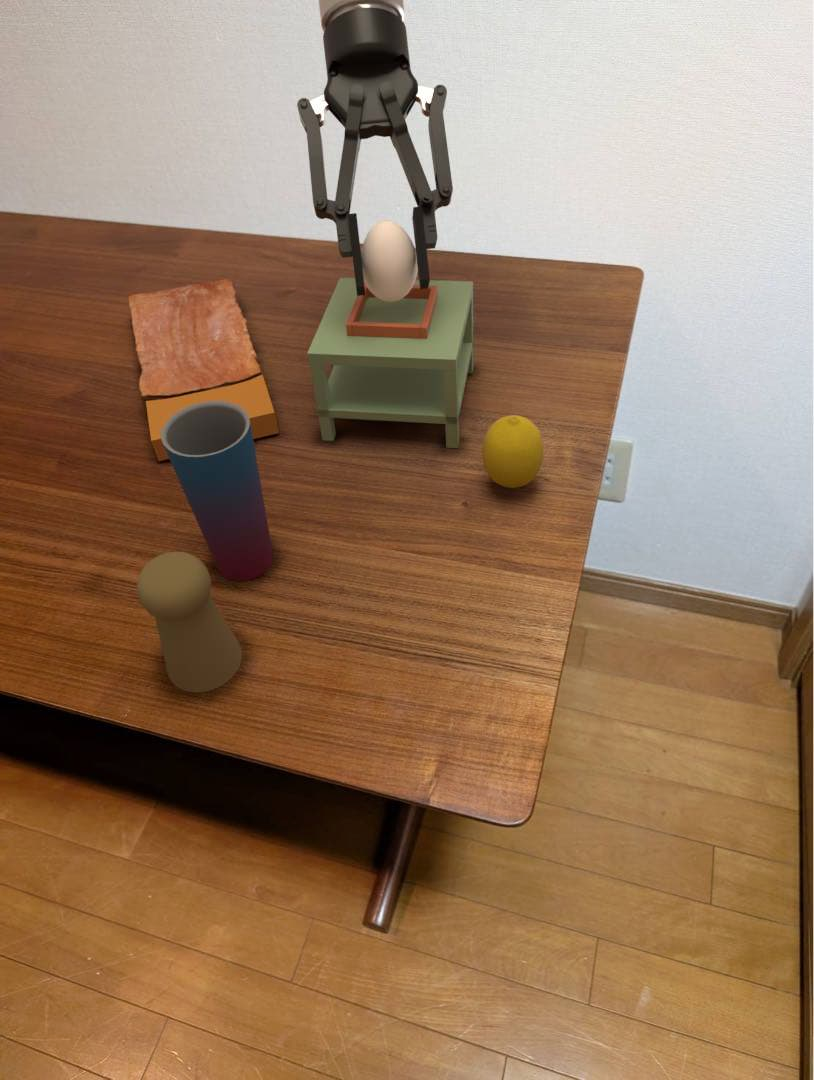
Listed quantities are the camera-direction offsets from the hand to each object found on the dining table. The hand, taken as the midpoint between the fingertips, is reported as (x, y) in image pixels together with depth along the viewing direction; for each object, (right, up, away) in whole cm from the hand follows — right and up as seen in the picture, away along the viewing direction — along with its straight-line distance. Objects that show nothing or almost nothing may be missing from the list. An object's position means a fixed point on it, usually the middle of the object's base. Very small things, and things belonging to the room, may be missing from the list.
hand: (392, 287), depth 75 cm
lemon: (+11, -18, +4) cm, 21 cm away
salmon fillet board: (-22, -4, +20) cm, 30 cm away
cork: (-15, -33, -8) cm, 37 cm away
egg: (0, 0, +5) cm, 5 cm away
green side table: (+1, -8, +14) cm, 16 cm away
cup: (-13, -25, -1) cm, 28 cm away
